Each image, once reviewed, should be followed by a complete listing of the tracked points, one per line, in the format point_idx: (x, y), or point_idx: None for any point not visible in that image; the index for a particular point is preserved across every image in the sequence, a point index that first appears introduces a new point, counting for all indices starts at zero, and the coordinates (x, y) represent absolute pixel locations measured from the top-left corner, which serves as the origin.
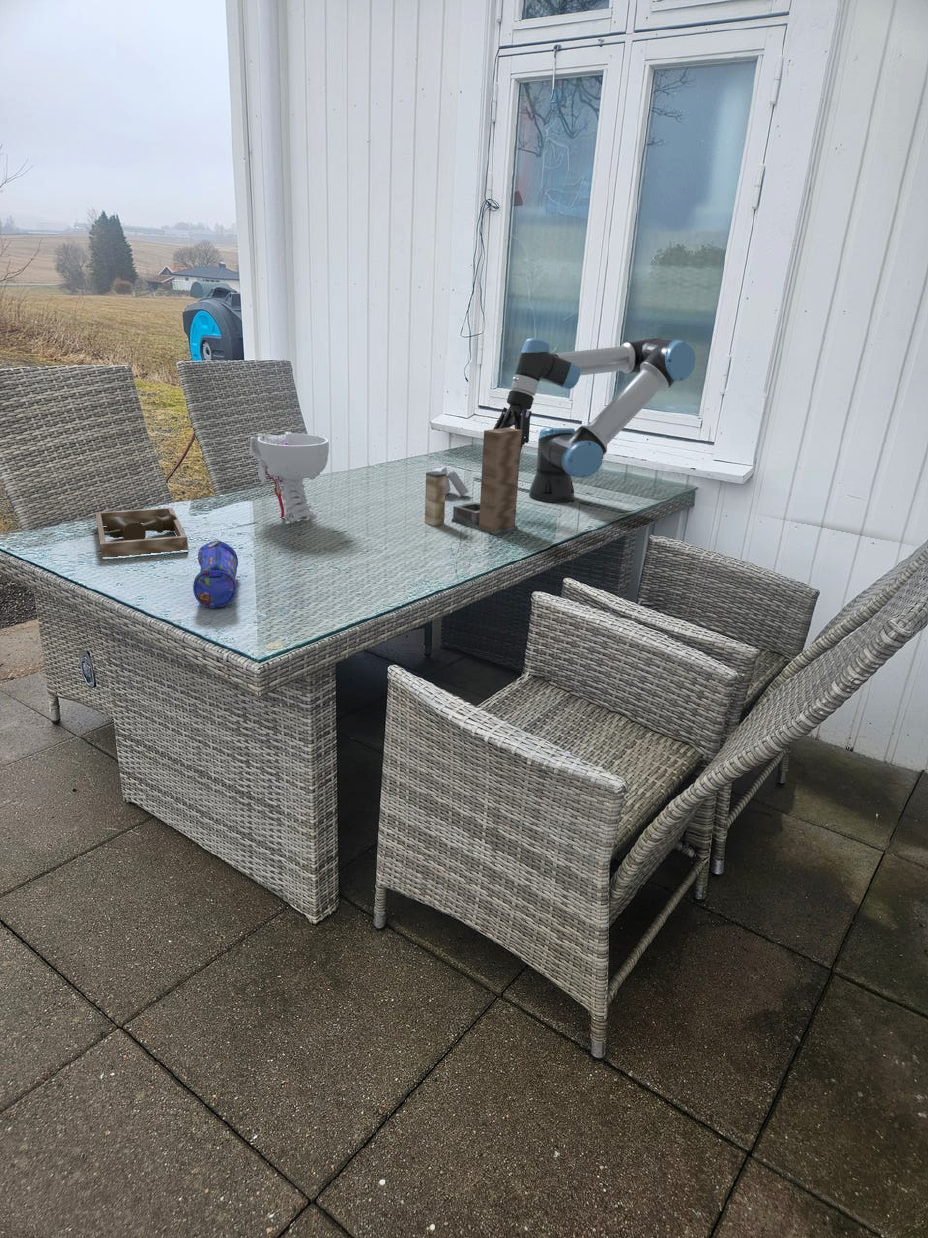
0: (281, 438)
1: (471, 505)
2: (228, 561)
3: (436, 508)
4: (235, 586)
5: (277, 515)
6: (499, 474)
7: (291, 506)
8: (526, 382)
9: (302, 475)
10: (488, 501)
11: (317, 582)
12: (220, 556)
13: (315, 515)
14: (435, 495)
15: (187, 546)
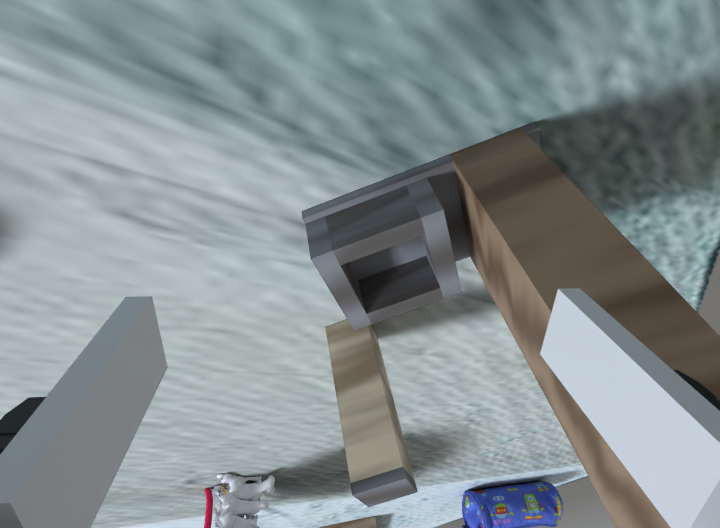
0: None
1: (346, 274)
2: (526, 517)
3: (386, 376)
4: (560, 497)
5: (216, 500)
6: None
7: (257, 516)
8: None
9: None
10: None
11: (540, 447)
12: (521, 525)
13: (271, 483)
14: (397, 418)
15: (376, 524)
